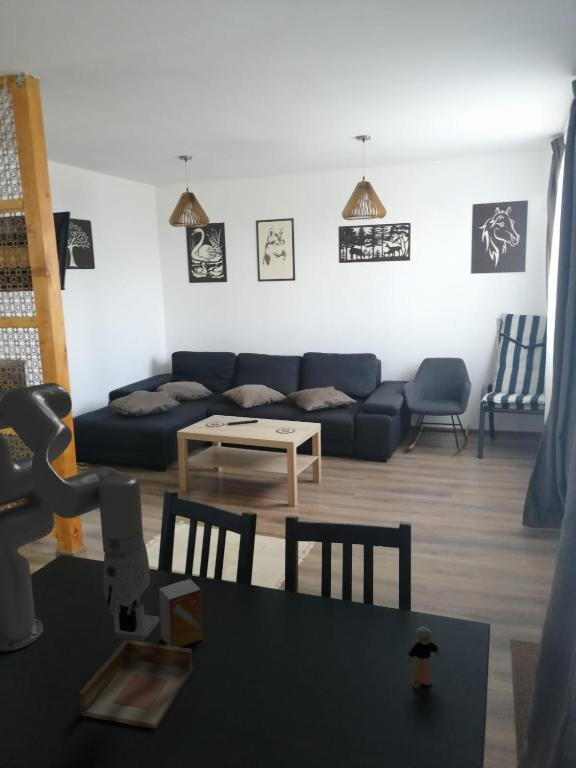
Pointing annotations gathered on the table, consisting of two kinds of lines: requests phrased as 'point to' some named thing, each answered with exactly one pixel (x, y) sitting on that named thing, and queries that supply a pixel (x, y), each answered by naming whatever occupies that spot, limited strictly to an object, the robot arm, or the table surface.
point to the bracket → (137, 624)
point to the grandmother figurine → (422, 657)
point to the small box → (181, 613)
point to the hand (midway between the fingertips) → (129, 628)
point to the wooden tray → (137, 683)
